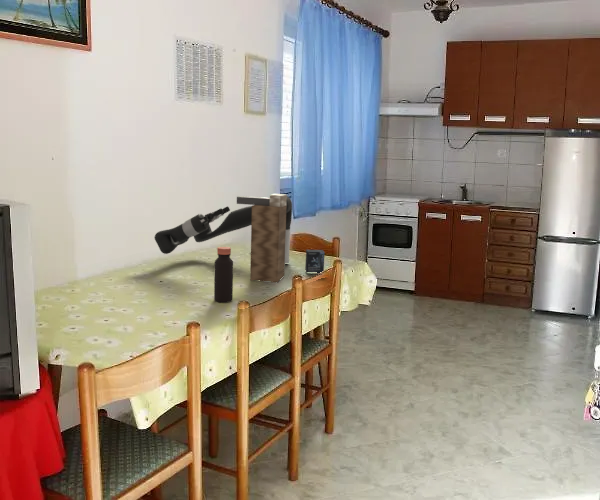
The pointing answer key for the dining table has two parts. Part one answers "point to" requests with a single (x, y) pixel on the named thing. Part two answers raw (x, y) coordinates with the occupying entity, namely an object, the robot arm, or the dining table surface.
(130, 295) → the dining table surface
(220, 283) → the bottle
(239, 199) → the dark grey matte block
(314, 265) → the box
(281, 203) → the stand
